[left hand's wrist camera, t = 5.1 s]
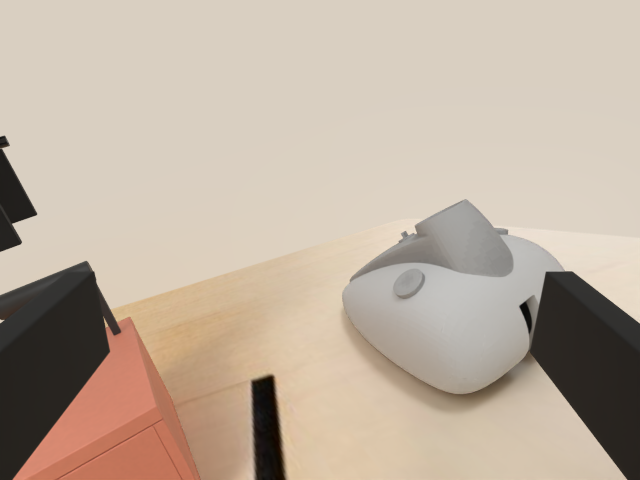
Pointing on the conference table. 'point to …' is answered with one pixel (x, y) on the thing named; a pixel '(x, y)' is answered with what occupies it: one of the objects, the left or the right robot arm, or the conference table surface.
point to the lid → (93, 395)
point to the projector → (452, 299)
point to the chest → (145, 447)
